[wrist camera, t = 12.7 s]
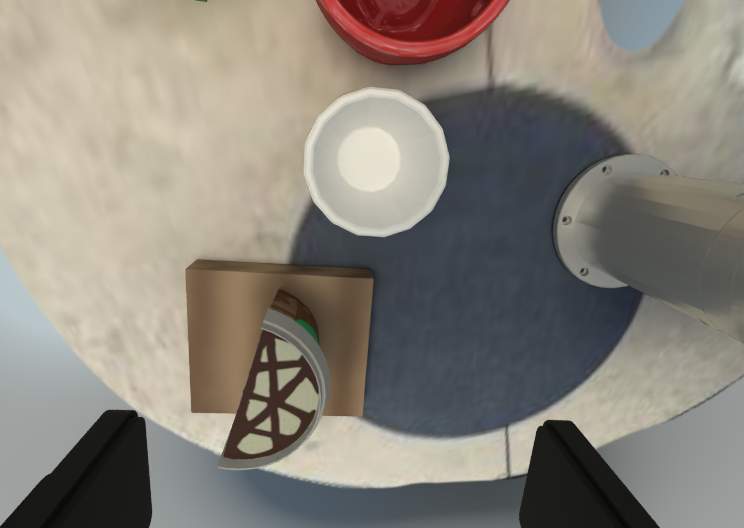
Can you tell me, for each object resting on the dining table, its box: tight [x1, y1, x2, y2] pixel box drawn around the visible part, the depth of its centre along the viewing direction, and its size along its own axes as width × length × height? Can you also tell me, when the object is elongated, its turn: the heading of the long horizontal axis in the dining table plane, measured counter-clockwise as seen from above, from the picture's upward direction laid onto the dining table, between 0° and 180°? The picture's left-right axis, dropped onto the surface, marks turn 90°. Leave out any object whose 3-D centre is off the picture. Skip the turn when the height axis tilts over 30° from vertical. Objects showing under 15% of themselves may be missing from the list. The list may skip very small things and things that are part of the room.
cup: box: [304, 87, 450, 237], centre depth 33 cm, size 10×10×9 cm
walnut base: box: [186, 260, 374, 417], centre depth 40 cm, size 16×14×3 cm
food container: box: [217, 289, 330, 470], centre depth 34 cm, size 12×6×10 cm, turn 160°
